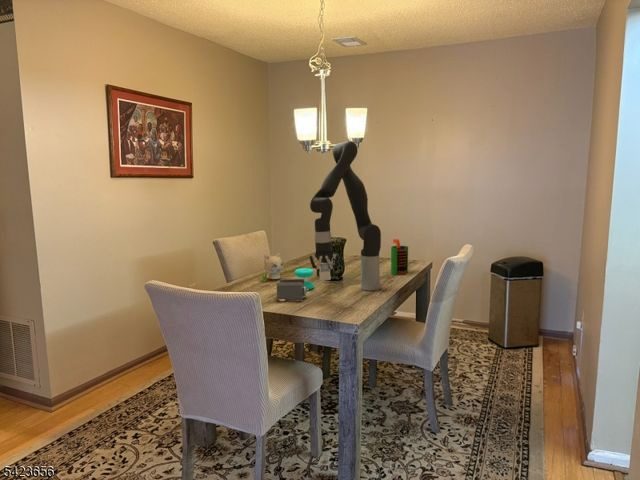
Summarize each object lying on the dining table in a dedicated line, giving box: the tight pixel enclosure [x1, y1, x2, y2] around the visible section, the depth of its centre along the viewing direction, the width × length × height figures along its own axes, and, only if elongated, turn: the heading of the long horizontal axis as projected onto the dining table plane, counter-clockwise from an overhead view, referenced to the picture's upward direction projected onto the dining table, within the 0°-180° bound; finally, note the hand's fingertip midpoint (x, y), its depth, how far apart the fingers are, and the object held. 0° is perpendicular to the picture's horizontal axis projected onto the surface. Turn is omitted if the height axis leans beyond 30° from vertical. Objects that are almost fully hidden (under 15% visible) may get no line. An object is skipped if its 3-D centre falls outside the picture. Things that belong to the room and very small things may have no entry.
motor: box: [390, 238, 409, 276], centre depth 267 cm, size 10×9×20 cm
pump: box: [319, 262, 332, 281], centre depth 216 cm, size 5×5×7 cm
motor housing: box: [276, 278, 308, 300], centre depth 221 cm, size 13×10×8 cm
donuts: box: [293, 267, 315, 290], centre depth 239 cm, size 10×10×10 cm
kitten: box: [261, 252, 285, 281], centre depth 261 cm, size 15×10×15 cm
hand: (325, 276), depth 216 cm, fingers closed on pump, 5 cm apart
